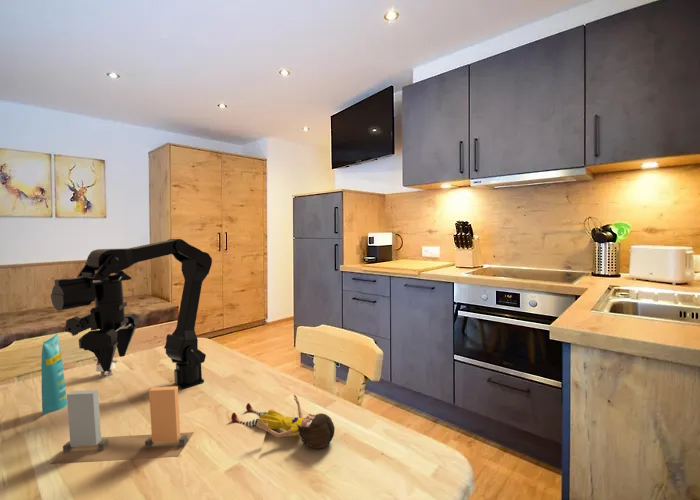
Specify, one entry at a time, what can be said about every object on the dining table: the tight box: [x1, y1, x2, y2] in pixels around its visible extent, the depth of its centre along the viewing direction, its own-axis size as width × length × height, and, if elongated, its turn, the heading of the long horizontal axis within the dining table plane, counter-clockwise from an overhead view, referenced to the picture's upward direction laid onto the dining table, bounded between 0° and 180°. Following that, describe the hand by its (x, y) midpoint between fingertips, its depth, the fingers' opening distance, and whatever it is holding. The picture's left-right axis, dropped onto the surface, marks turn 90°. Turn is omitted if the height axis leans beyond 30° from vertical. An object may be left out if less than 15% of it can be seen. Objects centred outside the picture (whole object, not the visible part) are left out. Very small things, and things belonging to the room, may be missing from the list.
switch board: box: [50, 431, 195, 465], centre depth 71 cm, size 8×24×2 cm, turn 94°
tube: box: [40, 332, 68, 416], centre depth 87 cm, size 7×5×19 cm, turn 26°
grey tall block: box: [66, 389, 102, 447], centre depth 70 cm, size 2×5×11 cm, turn 94°
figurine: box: [230, 394, 336, 450], centre depth 76 cm, size 13×8×25 cm
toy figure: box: [90, 357, 119, 378], centre depth 109 cm, size 12×6×8 cm, turn 75°
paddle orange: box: [148, 385, 181, 442], centre depth 71 cm, size 2×5×11 cm, turn 94°
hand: (114, 363), depth 84 cm, fingers open, 9 cm apart
